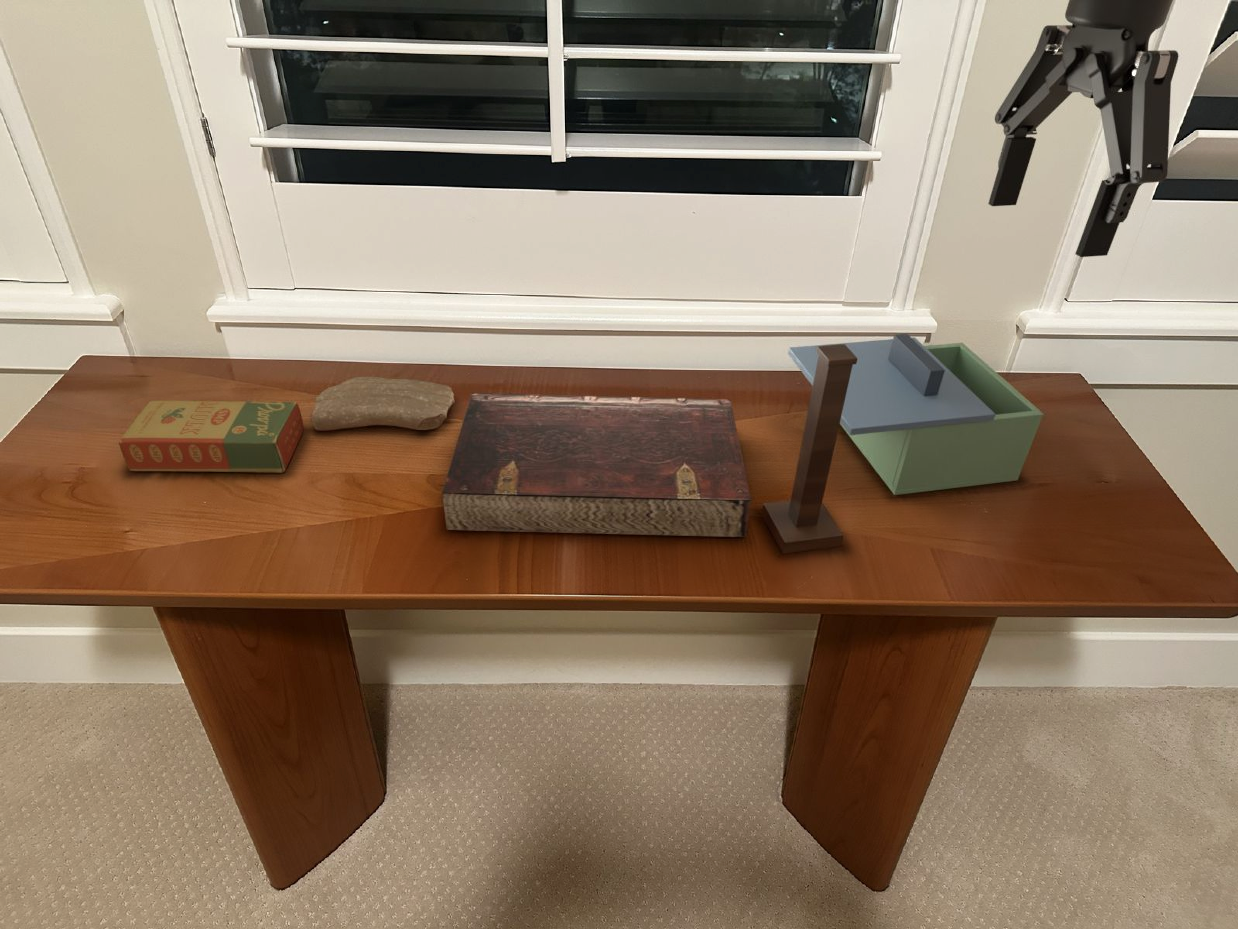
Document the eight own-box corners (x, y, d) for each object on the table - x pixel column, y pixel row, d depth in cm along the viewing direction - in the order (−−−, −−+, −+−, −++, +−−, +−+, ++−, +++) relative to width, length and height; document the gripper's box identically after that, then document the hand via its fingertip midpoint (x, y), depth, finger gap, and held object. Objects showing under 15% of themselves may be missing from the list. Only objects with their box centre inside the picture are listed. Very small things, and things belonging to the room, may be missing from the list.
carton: (161, 430, 93) (150, 397, 90) (306, 430, 94) (299, 398, 91) (129, 474, 86) (115, 440, 84) (285, 474, 87) (276, 440, 84)
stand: (840, 546, 80) (886, 366, 68) (782, 554, 79) (818, 372, 67) (816, 508, 85) (854, 332, 73) (761, 514, 84) (790, 338, 72)
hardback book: (725, 432, 96) (730, 395, 93) (744, 540, 81) (751, 500, 78) (475, 425, 95) (471, 388, 92) (447, 533, 80) (442, 492, 77)
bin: (1017, 480, 90) (1044, 414, 85) (894, 495, 87) (913, 427, 82) (943, 404, 102) (962, 342, 97) (833, 415, 99) (846, 352, 94)
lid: (993, 420, 83) (1005, 388, 81) (850, 435, 80) (857, 402, 78) (913, 343, 96) (921, 313, 94) (787, 353, 93) (792, 323, 91)
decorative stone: (449, 437, 93) (446, 411, 91) (310, 436, 93) (304, 409, 91) (461, 391, 101) (459, 366, 99) (333, 390, 101) (327, 365, 99)
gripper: (1302, -10, 58) (1174, 277, 70) (1069, -44, 77) (1002, 185, 90) (1212, -11, 56) (1097, 283, 69) (998, -45, 76) (939, 188, 88)
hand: (1043, 228), depth 79 cm, fingers open, 13 cm apart
